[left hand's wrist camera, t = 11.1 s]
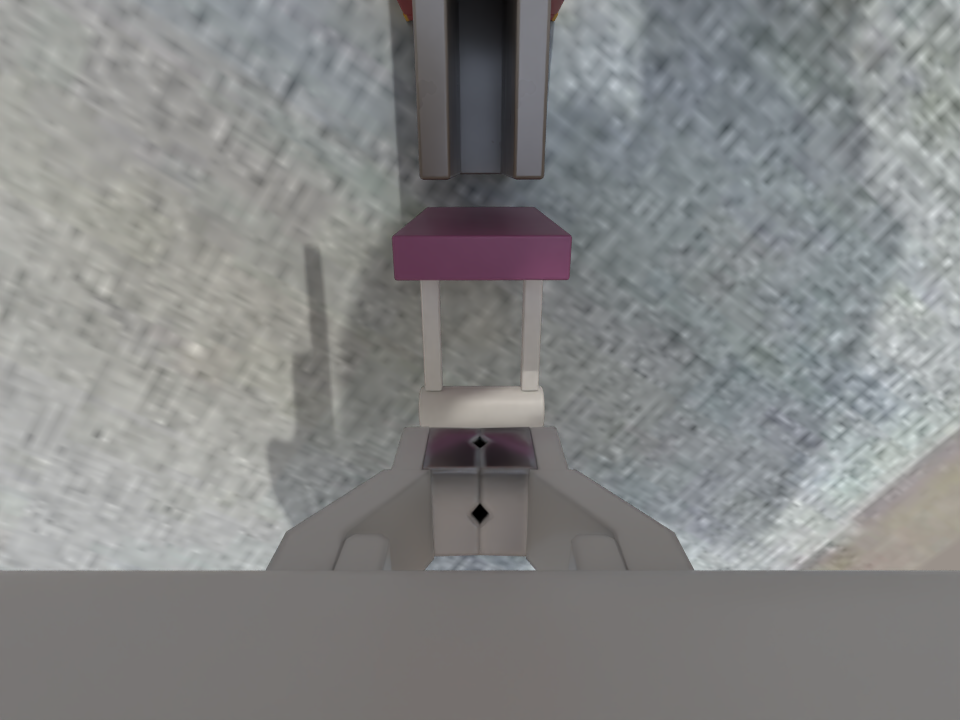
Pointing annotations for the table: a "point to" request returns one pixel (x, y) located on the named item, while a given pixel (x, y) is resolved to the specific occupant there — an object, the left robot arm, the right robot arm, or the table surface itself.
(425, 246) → the drawer
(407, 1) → the red yellow-edged box
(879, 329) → the table surface
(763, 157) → the table surface
